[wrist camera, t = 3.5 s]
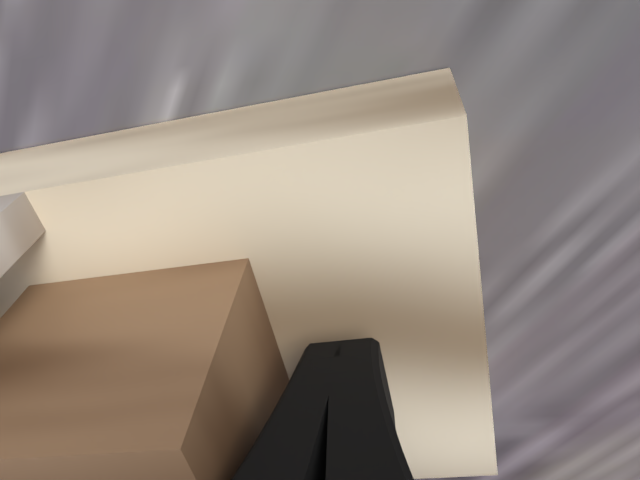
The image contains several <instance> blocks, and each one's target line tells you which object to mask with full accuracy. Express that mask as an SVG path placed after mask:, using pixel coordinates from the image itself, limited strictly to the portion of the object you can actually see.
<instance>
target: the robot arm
mask: <svg viewBox="0 0 640 480" xmlns="http://www.w3.org/2000/svg"><path fill="white" fill-rule="evenodd" d="M231 480H414V478H413V476H412V473H411V471H410V468H409V466H408V463H407V461H406V458H405V455H404V453H403V450H402V447H401V444H400V441H399V438H398V435H397V432H396V427H395V416H394V409H393V404H392V400H391V395H390V390H389V386H388V381H387V376H386V372H385V367H384V362H383V358H382V353H381V348H380V344H379V342H378V341H377V340H375V339H373V338H362V339H352V340H341V341H331V342H320V343H310V344H309V345H308V346H307V347H306V348H305V350H304V352H303V354H302V356H301V358H300V360H299V362H298V364H297V366H296V368H295V370H294V372H293V374H292V376H291V378H290V380H289V382H288V384H287V386H286V388H285V390H284V392H283V393H282V395H281V397H280V399H279V401H278V403H277V405H276V406H275V408H274V410H273V412H272V413H271V415H270V417H269V419H268V420H267V422H266V424H265V425H264V427H263V429H262V431H261V432H260V434H259V436H258V438H257V439H256V441H255V443H254V444H253V446H252V448H251V449H250V451H249V453H248V454H247V456H246V457H245V459H244V460H243V462H242V463H241V465H240V466H239V468H238V470H237V471H236V473H235V474H234V476H233V477H232V479H231Z"/></svg>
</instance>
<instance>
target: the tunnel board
mask: <svg viewBox="0 0 640 480" xmlns="http://www.w3.org/2000/svg"><path fill="white" fill-rule="evenodd" d="M246 258H249V261H250V264H251V267H252V270H253V273H254V276H255V279H256V282H257V285H258V288H259V291H260V294H261V297H262V300H263V303H264V306H265V309H266V312H267V315H268V318H269V321H270V324H271V327H272V330H273V333H274V336H275V339H276V342H277V345H278V348H279V351H280V353H281V356H282V359H283V362H284V365H285V368H286V371H287V374H288V377H289V380H290V378H291V376H292V374H293V372H294V370H295V368H296V366H297V364H298V362H299V360H300V358H301V356H302V354H303V352H304V350H305V348H306V347H307V346H308V345H309V344H310V343H320V342H331V341H341V340H352V339H362V338H373V339H375V340H377V341H378V342H379V344H380V348H381V353H382V358H383V362H384V367H385V372H386V376H387V381H388V386H389V390H390V395H391V400H392V404H393V409H394V416H395V427H396V432H397V435H398V438H399V441H400V444H401V447H402V450H403V453H404V455H405V458H406V461H407V463H408V466H409V468H410V471H411V473H412V476H413V478H414V479H424V478H445V477H465V476H486V475H498V472H497V461H496V449H495V437H494V426H493V414H492V403H491V391H490V380H489V368H488V357H487V345H486V334H485V322H484V310H483V299H482V287H481V276H480V264H479V253H478V241H477V230H476V218H475V206H474V195H473V183H472V172H471V160H470V149H469V137H468V126H467V115H466V112H465V109H464V107H463V104H462V101H461V98H460V95H459V93H458V90H457V87H456V84H455V81H454V79H453V76H452V73H451V70H450V68H445V69H440V70H435V71H430V72H424V73H419V74H414V75H409V76H403V77H398V78H393V79H388V80H382V81H377V82H372V83H367V84H362V85H356V86H351V87H346V88H341V89H335V90H330V91H325V92H320V93H314V94H309V95H304V96H299V97H293V98H288V99H283V100H278V101H272V102H267V103H262V104H257V105H251V106H246V107H241V108H236V109H230V110H225V111H220V112H215V113H209V114H204V115H199V116H194V117H188V118H183V119H178V120H173V121H167V122H162V123H157V124H152V125H146V126H141V127H136V128H131V129H125V130H120V131H115V132H110V133H104V134H99V135H94V136H89V137H83V138H78V139H73V140H68V141H62V142H57V143H52V144H47V145H41V146H36V147H31V148H26V149H20V150H15V151H10V152H5V153H0V318H1V317H2V316H3V315H4V313H5V312H6V311H7V310H8V309H9V308H10V307H11V306H12V304H13V303H14V302H15V301H16V300H17V299H18V298H19V296H20V295H21V294H22V293H23V292H24V291H25V290H26V288H27V287H28V286H30V285H38V284H46V283H54V282H62V281H70V280H78V279H86V278H94V277H102V276H110V275H118V274H126V273H134V272H142V271H150V270H158V269H166V268H174V267H182V266H190V265H198V264H206V263H214V262H222V261H230V260H238V259H246Z"/></svg>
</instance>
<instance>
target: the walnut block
mask: <svg viewBox="0 0 640 480" xmlns="http://www.w3.org/2000/svg"><path fill="white" fill-rule="evenodd" d="M288 382H289V377H288V374H287V371H286V368H285V365H284V362H283V359H282V356H281V353H280V351H279V348H278V345H277V342H276V339H275V336H274V333H273V330H272V327H271V324H270V321H269V318H268V315H267V312H266V309H265V306H264V303H263V300H262V297H261V294H260V291H259V288H258V285H257V282H256V279H255V276H254V273H253V270H252V267H251V264H250V261H249V258H246V259H238V260H230V261H222V262H214V263H206V264H198V265H190V266H182V267H174V268H166V269H158V270H150V271H142V272H134V273H126V274H118V275H110V276H102V277H94V278H86V279H78V280H70V281H62V282H54V283H46V284H38V285H30V286H28V287H27V288H26V290H25V291H24V292H23V293H22V294H21V295H20V296H19V298H18V299H17V300H16V301H15V302H14V303H13V304H12V306H11V307H10V308H9V309H8V310H7V311H6V312H5V313H4V315H3V316H2V317H1V318H0V480H231V479H232V477H233V476H234V474H235V473H236V471H237V470H238V468H239V466H240V465H241V463H242V462H243V460H244V459H245V457H246V456H247V454H248V453H249V451H250V449H251V448H252V446H253V444H254V443H255V441H256V439H257V438H258V436H259V434H260V432H261V431H262V429H263V427H264V425H265V424H266V422H267V420H268V419H269V417H270V415H271V413H272V412H273V410H274V408H275V406H276V405H277V403H278V401H279V399H280V397H281V395H282V393H283V392H284V390H285V388H286V386H287V384H288Z"/></svg>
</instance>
